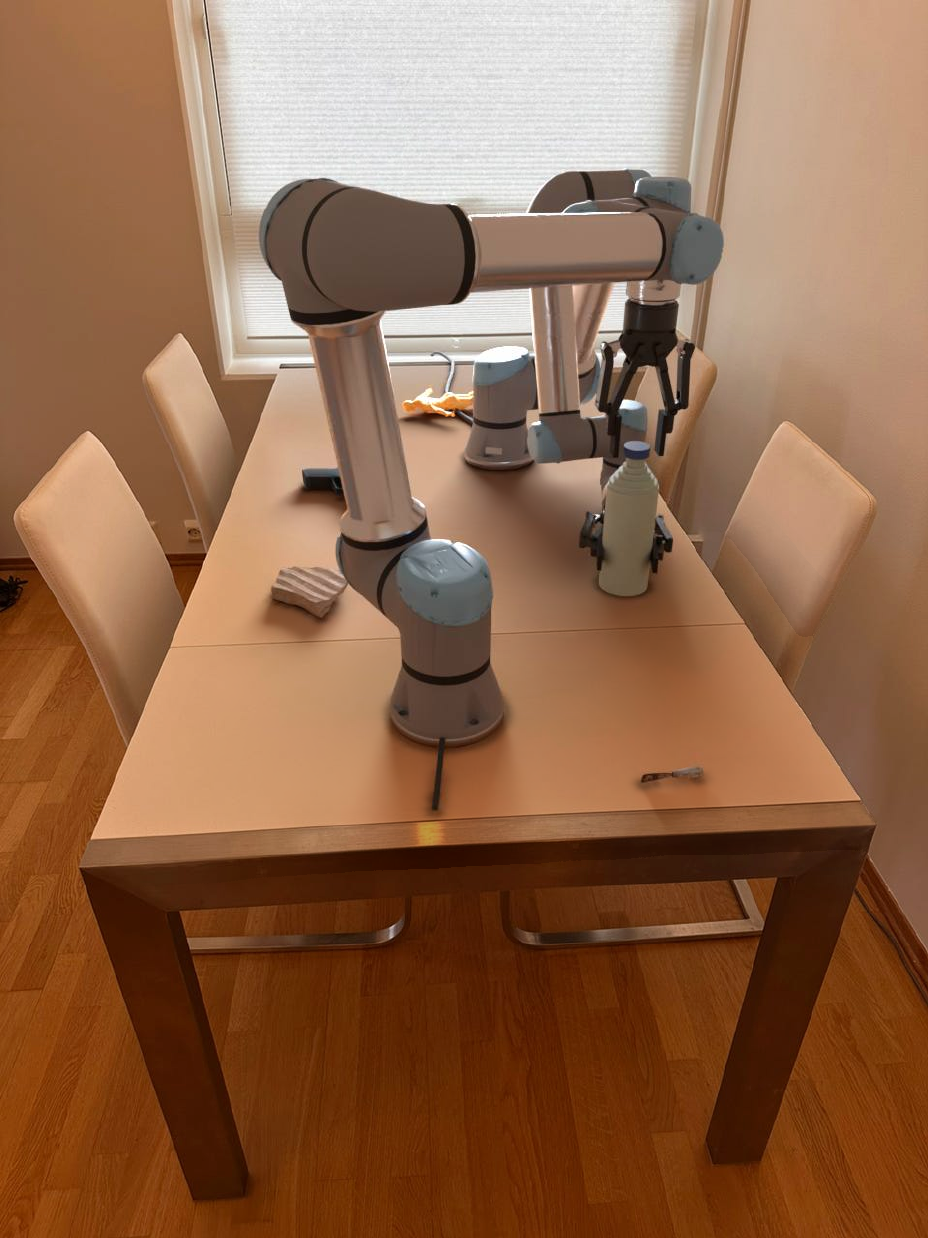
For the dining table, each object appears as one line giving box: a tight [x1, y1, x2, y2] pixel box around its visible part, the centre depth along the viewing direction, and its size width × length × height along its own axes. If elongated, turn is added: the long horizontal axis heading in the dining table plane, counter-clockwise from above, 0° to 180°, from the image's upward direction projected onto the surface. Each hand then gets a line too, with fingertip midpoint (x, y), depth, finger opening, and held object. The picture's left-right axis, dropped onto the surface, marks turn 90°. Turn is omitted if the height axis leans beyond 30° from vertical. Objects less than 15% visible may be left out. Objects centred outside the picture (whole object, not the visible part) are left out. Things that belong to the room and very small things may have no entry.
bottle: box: [598, 458, 660, 597], centre depth 144 cm, size 8×8×24 cm
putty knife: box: [640, 765, 705, 784], centre depth 109 cm, size 1×8×2 cm, turn 103°
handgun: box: [301, 466, 344, 496], centre depth 181 cm, size 3×18×12 cm
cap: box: [623, 441, 652, 460], centre depth 138 cm, size 4×4×2 cm
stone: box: [270, 565, 349, 619], centre depth 147 cm, size 13×12×2 cm
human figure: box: [402, 385, 473, 418], centre depth 225 cm, size 20×20×4 cm
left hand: (636, 453), depth 138 cm, fingers open, 6 cm apart
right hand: (627, 564), depth 143 cm, fingers closed on bottle, 8 cm apart
